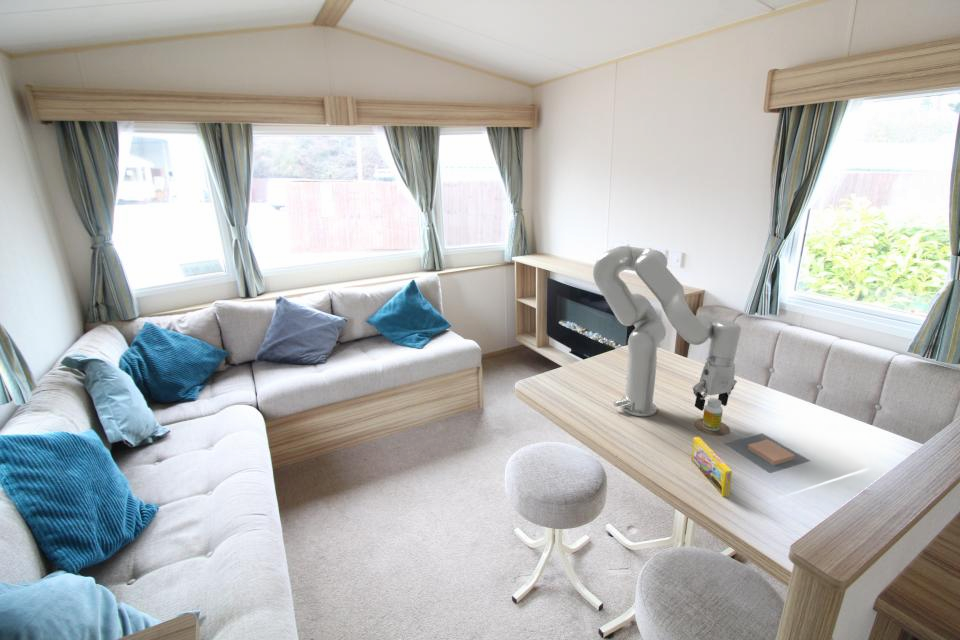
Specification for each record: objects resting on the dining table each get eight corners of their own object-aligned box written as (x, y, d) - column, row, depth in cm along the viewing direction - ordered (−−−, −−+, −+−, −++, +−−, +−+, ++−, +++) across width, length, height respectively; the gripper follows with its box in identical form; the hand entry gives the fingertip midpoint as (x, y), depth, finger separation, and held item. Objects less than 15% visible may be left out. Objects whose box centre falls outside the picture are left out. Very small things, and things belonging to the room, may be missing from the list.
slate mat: (769, 474, 130) (769, 472, 130) (723, 444, 144) (723, 443, 144) (810, 461, 135) (810, 460, 135) (762, 434, 149) (762, 433, 149)
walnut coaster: (711, 439, 147) (711, 438, 147) (686, 423, 157) (686, 422, 157) (737, 432, 150) (737, 431, 150) (711, 417, 160) (711, 416, 160)
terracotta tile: (747, 449, 141) (773, 465, 133) (747, 444, 140) (774, 461, 132) (766, 443, 143) (793, 459, 135) (767, 439, 143) (794, 455, 135)
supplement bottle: (712, 432, 150) (716, 406, 147) (698, 425, 155) (702, 399, 152) (723, 428, 152) (727, 402, 149) (709, 421, 157) (712, 395, 154)
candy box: (689, 461, 137) (693, 436, 134) (696, 460, 137) (700, 436, 134) (721, 497, 121) (726, 470, 119) (729, 496, 122) (733, 470, 119)
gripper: (708, 367, 140) (698, 416, 146) (751, 360, 146) (739, 407, 151) (690, 357, 147) (681, 404, 152) (731, 351, 152) (721, 397, 158)
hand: (710, 406), depth 152 cm, fingers open, 9 cm apart
